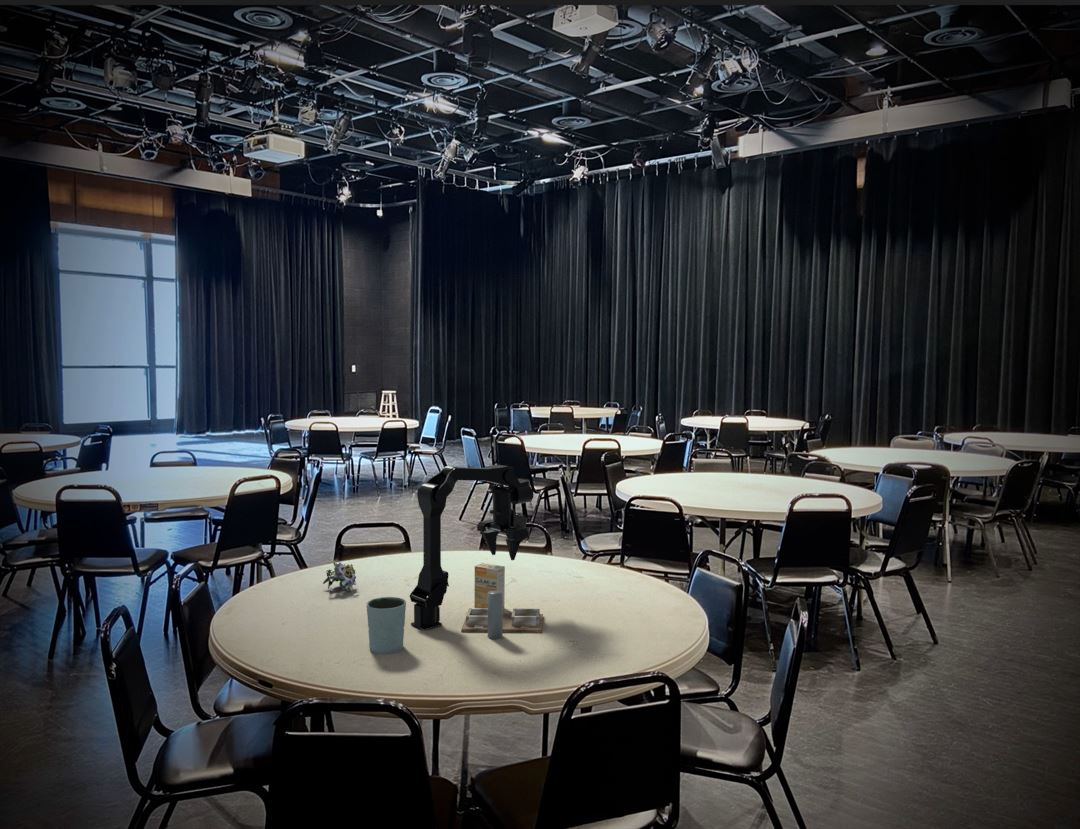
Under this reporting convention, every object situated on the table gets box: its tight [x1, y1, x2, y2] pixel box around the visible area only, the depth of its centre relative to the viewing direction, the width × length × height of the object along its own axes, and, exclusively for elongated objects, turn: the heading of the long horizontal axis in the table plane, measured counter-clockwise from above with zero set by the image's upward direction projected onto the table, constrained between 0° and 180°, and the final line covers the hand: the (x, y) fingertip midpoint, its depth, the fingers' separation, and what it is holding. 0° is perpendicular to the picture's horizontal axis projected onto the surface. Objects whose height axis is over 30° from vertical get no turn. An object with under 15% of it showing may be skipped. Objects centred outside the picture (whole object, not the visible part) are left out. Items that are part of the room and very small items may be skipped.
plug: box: [487, 591, 504, 640], centre depth 212 cm, size 4×4×12 cm
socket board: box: [461, 607, 544, 634], centre depth 223 cm, size 22×14×3 cm, turn 88°
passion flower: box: [322, 560, 357, 592], centre depth 258 cm, size 11×11×12 cm
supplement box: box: [473, 562, 506, 610], centre depth 237 cm, size 8×5×13 cm, turn 62°
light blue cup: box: [366, 596, 407, 655], centre depth 204 cm, size 10×10×12 cm
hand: (503, 557), depth 239 cm, fingers open, 9 cm apart
